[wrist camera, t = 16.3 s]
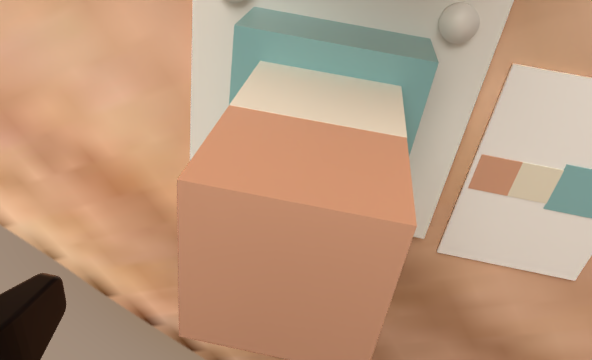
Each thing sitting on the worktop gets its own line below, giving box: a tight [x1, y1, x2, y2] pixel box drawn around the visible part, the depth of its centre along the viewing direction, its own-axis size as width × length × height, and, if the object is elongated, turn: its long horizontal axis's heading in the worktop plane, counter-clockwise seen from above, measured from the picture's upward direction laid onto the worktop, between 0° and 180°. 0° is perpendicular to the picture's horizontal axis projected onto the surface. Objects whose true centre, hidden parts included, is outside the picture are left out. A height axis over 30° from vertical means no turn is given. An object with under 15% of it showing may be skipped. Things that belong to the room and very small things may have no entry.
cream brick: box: [230, 61, 407, 138], centre depth 16 cm, size 5×5×4 cm
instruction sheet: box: [437, 63, 592, 281], centre depth 21 cm, size 7×10×1 cm
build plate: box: [190, 0, 514, 239], centre depth 19 cm, size 12×12×4 cm
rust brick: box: [177, 105, 417, 360], centre depth 13 cm, size 5×5×4 cm
